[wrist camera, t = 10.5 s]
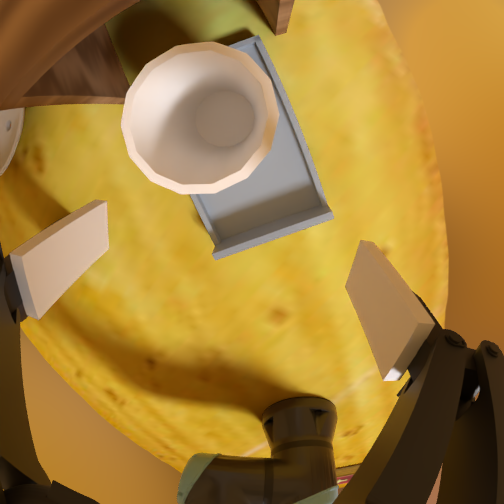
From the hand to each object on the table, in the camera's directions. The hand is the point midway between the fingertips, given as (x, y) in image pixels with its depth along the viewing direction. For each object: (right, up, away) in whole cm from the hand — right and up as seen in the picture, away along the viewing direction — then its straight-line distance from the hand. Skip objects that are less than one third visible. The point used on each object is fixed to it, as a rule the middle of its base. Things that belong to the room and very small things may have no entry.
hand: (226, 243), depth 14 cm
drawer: (0, +11, +14) cm, 18 cm away
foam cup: (-1, +13, +13) cm, 18 cm away
